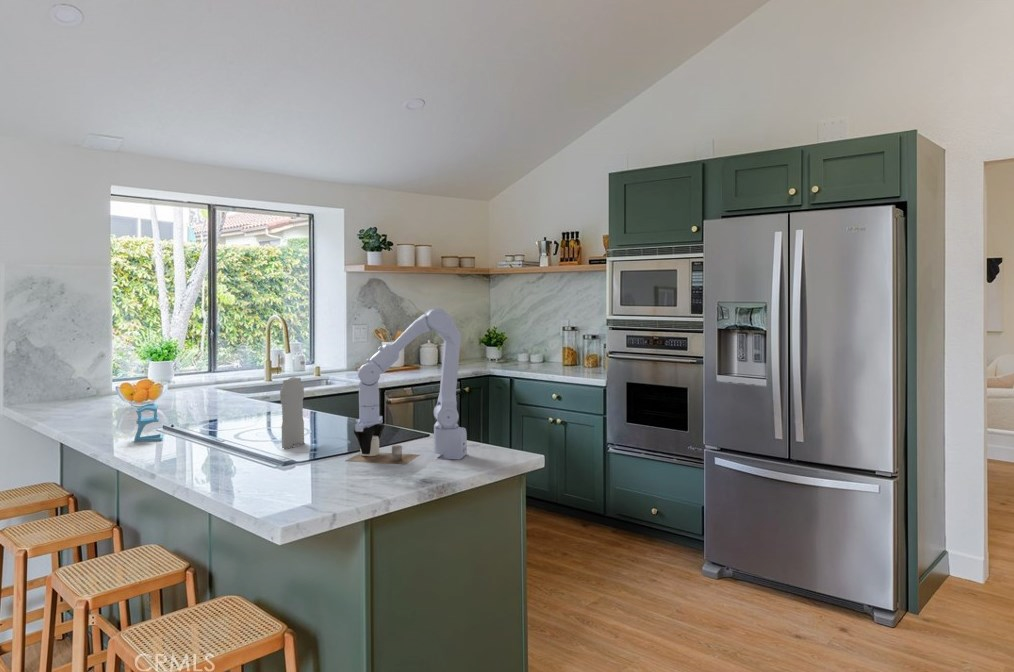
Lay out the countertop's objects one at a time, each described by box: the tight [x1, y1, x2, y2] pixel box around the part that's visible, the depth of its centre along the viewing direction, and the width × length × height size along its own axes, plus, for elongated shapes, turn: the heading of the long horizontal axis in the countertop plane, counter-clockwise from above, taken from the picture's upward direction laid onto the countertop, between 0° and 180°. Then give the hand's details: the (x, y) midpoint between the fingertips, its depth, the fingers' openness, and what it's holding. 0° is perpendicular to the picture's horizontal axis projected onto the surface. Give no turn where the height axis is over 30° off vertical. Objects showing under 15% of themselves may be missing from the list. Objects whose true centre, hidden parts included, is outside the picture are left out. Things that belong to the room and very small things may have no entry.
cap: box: [359, 435, 380, 456], centre depth 205 cm, size 5×5×5 cm
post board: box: [345, 444, 420, 466], centre depth 202 cm, size 18×12×6 cm, turn 77°
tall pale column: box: [279, 376, 305, 449], centre depth 224 cm, size 11×4×22 cm, turn 156°
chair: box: [133, 403, 163, 443], centre depth 234 cm, size 8×8×12 cm
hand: (369, 451), depth 205 cm, fingers closed on cap, 5 cm apart
